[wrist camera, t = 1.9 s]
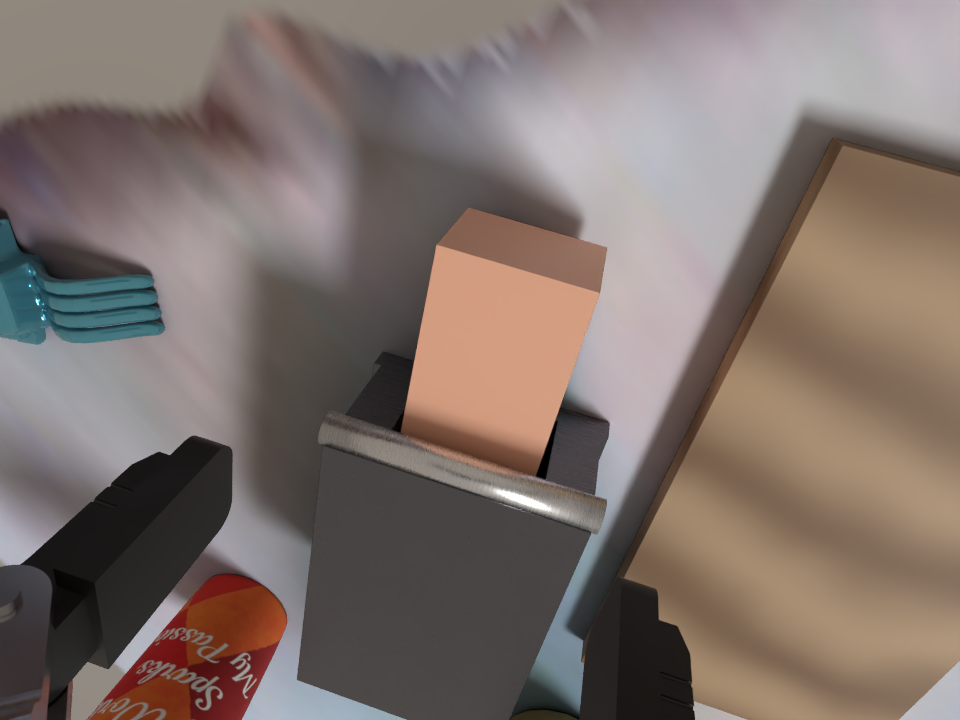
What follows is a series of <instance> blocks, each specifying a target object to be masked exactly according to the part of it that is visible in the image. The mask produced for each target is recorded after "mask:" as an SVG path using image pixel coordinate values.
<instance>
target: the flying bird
mask: <svg viewBox="0 0 960 720" xmlns="http://www.w3.org/2000/svg"><path fill="white" fill-rule="evenodd" d="M153 284H154V279H153V278H152V277H151V276H149V275H145V274H131V275H120V276H111V277H101V278H92V279H78V280H66V279H57V278H53V277H51V276H49V275H48V274H47V271H46V268H45V265H44V262H43V260H42V259H41V258H40V257H39V256H37V255H34V254H30V253H25V252H22V251H20V249H19V248H18V246H17V243H16V241H15V238H14V235H13V232H12V229H11V226H10V222H9V220H8V219H6V218H3V219H0V337H2V338H8V339H14V340H17V341H19V342H24V343H30V344H36V345H38V344H41V343H43V342H44V341H45V339H46V333H45V328H47V327H49V326H51V327H52V329H53V331H54V332H55V334H56V335H57V336H58V337H59V338H61V339H62V340H64V341H68V342H71V343H95V342H105V341H112V340H119V339H126V338H133V337H142V336H153V335H159V334H161V333H163V332H164V331H165V326H164V325H163V324H162V323H160V322H157V321H149V320H155V319H158V318H159V317H160V316H161V315H162V312H161V310H160V309H159V308H158V307H156V306H142V305H151V304H153V303H155V302H157V300H158V295H157V293H156V292H154V291H152V290H128V289H141V288H148V287H151V286H152V285H153ZM118 290H128V291H120V292H111V293H103V294H93V295H80V294H92V293H101V292H110V291H118ZM130 306H134V307H130ZM121 307H126V308H121ZM114 308H118V309H114ZM106 309H110V310H106ZM98 310H102V311H98ZM87 311H90V312H87ZM137 321H144V322H137ZM128 322H134V323H128ZM121 323H127V324H121ZM114 324H120V325H114ZM106 325H112V326H106ZM98 326H104V327H98ZM87 327H93V328H87Z"/></svg>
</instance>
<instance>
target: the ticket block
mask: <svg viewBox="0 0 960 720" xmlns="http://www.w3.org/2000/svg"><path fill="white" fill-rule="evenodd" d="M606 252H607V247H603V246H600V245H597V244H593V243H590V242H586V241H583V240H579V239H576V238H572V237H569V236H566V235H562V234H559V233H555V232H552V231H548V230H545V229H541V228H538V227H535V226H531V225H528V224H524V223H521V222H517V221H514V220H510V219H507V218H503V217H500V216H497V215H493V214H490V213H486V212H483V211H479V210H476V209H472V208H469V207H468V209H467V210H466V211H465V212H464V213H463V214H462V216H461V217H460V218H459V219H458V220H457V221H456V223H455V224H454V225H453V226H452V227H451V228H450V230H449V231H448V232H447V233H446V234H445V235H444V237H443V238H442V239H441V240H440V241H439V242H438V244H437V245H436V250H435V256H434V261H433V266H432V271H431V276H430V282H429V287H428V292H427V297H426V303H425V308H424V313H423V318H422V323H421V329H420V334H419V339H418V344H417V349H416V355H415V360H414V365H413V370H412V376H411V381H410V386H409V391H408V396H407V402H406V407H405V412H404V417H403V423H402V428H401V433H403V434H406V435H409V436H412V437H415V438H418V439H421V440H424V441H428V442H431V443H434V444H437V445H440V446H443V447H446V448H449V449H452V450H455V451H458V452H462V453H465V454H468V455H471V456H474V457H477V458H480V459H483V460H486V461H489V462H492V463H496V464H499V465H502V466H505V467H508V468H511V469H514V470H517V471H520V472H523V473H527V474H530V475H533V476H536V474H537V471H538V468H539V465H540V462H541V460H542V457H543V454H544V451H545V448H546V445H547V442H548V440H549V437H550V434H551V431H552V428H553V425H554V423H555V420H556V417H557V414H558V411H559V408H560V405H561V403H562V400H563V397H564V394H565V391H566V388H567V386H568V383H569V380H570V377H571V374H572V371H573V368H574V366H575V363H576V360H577V357H578V354H579V351H580V349H581V346H582V343H583V340H584V337H585V334H586V331H587V329H588V326H589V323H590V320H591V317H592V314H593V312H594V309H595V306H596V303H597V300H598V297H599V294H600V290H601V283H602V277H603V271H604V264H605V258H606Z"/></svg>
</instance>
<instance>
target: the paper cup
mask: <svg viewBox="0 0 960 720" xmlns="http://www.w3.org/2000/svg"><path fill="white" fill-rule="evenodd" d="M286 625H287V615H286V611H285V609H284V607H283V605H282V604H281V602H280V601H279V600H278V598H277V597H276V596H275V595H274V594H273V593H272V592H270V591H269V590H268V589H267V588H265V587H264V586H262V585H261V584H259V583H257V582H255V581H253V580H251V579H249V578H246V577H243V576H240V575H234V574H220V575H216V576H213V577H211V578H210V579H209V580H208V581H206V582H205V583H204V584H203V586H202V587H201V588H200V589H199V590H198V591H197V592H196V593H195V594H194V595H193V596H192V598H191V599H190V600H189V601H188V602H187V603H186V604H185V605H184V607H183V608H182V609H181V610H180V611H179V612H178V614H177V615H176V616H175V617H174V618H173V619H172V621H171V622H170V623H169V624H168V625H167V626H166V627H165V629H164V630H163V631H162V632H161V633H160V634H159V636H158V637H157V638H156V639H155V640H154V641H153V643H152V644H151V645H150V646H149V647H148V648H147V650H146V651H145V652H144V653H143V654H142V655H141V657H140V658H139V659H138V660H137V661H136V662H135V664H134V665H133V666H132V667H131V668H130V669H129V671H128V672H127V673H126V674H125V675H124V676H123V678H122V679H121V680H120V681H119V683H118V684H117V685H116V686H115V687H114V688H113V689H112V691H111V692H110V693H109V694H108V695H107V696H106V698H105V699H104V700H103V701H102V702H101V703H100V705H99V706H98V707H97V708H96V709H95V711H94V712H93V713H92V714H91V715H90V716H89V718H88V719H87V720H242V718H243V716H244V714H245V712H246V710H247V708H248V706H249V704H250V702H251V700H252V698H253V696H254V694H255V692H256V690H257V688H258V686H259V684H260V682H261V679H262V677H263V675H264V673H265V671H266V669H267V667H268V665H269V663H270V661H271V659H272V657H273V655H274V653H275V651H276V648H277V646H278V644H279V642H280V640H281V638H282V635H283V633H284V631H285V628H286Z"/></svg>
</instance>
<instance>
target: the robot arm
mask: <svg viewBox="0 0 960 720" xmlns="http://www.w3.org/2000/svg"><path fill="white" fill-rule="evenodd" d="M232 456H233V455H232V449H231V448H230V447H229V446H226V445H223V444H220V443H217V442H214V441H211V440H208V439H205V438H201V437H198V436H191V437H189V438H188V439H187V440H186V441H184V442H183V443H182V444H181V445H180V446H179V447H178V448H177V449H176V450H175V451H174V452H173V453H172V454H171V455H167V454H164V453H161V452H157V453H155V454H153V455H151V456H149V457H147V458H145V459H143V460H140V461H138V462H136V463H134V464H132V465H131V466H130V467H129V468H128V469H126V470H125V471H124V472H123V473H122V474H121V475H120V476H119V477H118V478H116V479H115V480H114V481H113V482H112V484H111V486H110V487H107V488H105V489H104V490H103V491H102V492H101V493H100V494H99V495H98V496H97V497H96V498H95V500H94V502H93V503H92V502H90V503H89V504H88V505H87V506H86V507H85V508H83V509H82V510H81V511H80V512H79V513H78V514H77V515H76V516H75V517H74V518H72V519H71V520H70V521H69V522H68V523H67V524H66V525H65V526H64V527H63V528H61V529H60V530H59V531H58V532H57V533H56V534H55V535H54V536H53V537H52V538H50V539H49V540H48V541H47V542H46V543H45V544H44V545H43V546H42V547H41V548H39V549H38V550H37V551H36V552H35V553H34V554H33V555H32V556H31V557H29V558H28V559H27V560H26V561H24V562H23V563H22V564H20V565H8V566H3V567H0V720H71V703H72V689H73V683H72V679H73V678H74V677H75V676H76V675H77V673H78V672H79V671H80V670H81V669H82V667H83V666H84V665H85V664H86V663H87V662H90V663H93V664H95V665H98V666H101V667H103V668H106V669H109V668H110V667H111V665H112V664H113V663H114V662H115V660H116V659H117V658H118V657H119V655H120V654H121V653H122V652H123V650H124V649H125V648H126V647H127V645H128V644H129V643H130V642H131V640H132V639H133V638H134V637H135V635H136V634H137V633H138V632H139V630H140V629H141V628H142V627H143V625H144V624H145V623H146V622H147V620H148V619H149V618H150V617H151V615H152V614H153V613H154V612H155V610H156V609H157V608H158V607H159V605H160V604H161V603H162V602H163V600H164V599H165V598H166V597H167V595H168V594H169V593H170V592H171V590H172V589H173V588H174V587H175V585H176V584H177V583H178V582H179V580H180V579H181V578H182V577H183V575H184V574H185V573H186V572H187V570H188V569H189V568H190V567H191V565H192V564H193V563H194V562H195V560H196V559H197V558H198V557H199V555H200V554H201V553H202V552H203V550H204V549H205V548H206V547H207V545H208V544H209V543H210V542H211V540H212V539H213V538H214V537H215V535H216V534H217V533H218V532H219V530H220V529H221V527H222V526H223V524H224V522H225V521H226V518H227V516H228V514H229V511H230V508H231V503H232ZM691 684H692V671H691V657H690V652H689V650H688V648H687V646H686V643H685V641H684V639H683V637H682V635H681V632H680V630H679V628H678V626H676V625H673V624H670V623H667V622H664V621H661V620H659V607H658V592H657V590H656V589H655V588H652V587H649V586H646V585H643V584H640V583H637V582H634V581H631V580H628V579H625V578H622V577H619V576H618V577H617V578H616V579H615V581H614V583H613V585H612V587H611V589H610V591H609V593H608V595H607V597H606V599H605V601H604V603H603V605H602V607H601V609H600V611H599V613H598V615H597V617H596V619H595V621H594V623H593V626H592V628H591V631H590V634H589V638H588V642H587V647H586V653H585V661H584V673H583V684H582V695H581V706H580V717H579V720H695V714H694V711H693V706H694V700H693V688H692V687H691Z"/></svg>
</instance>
